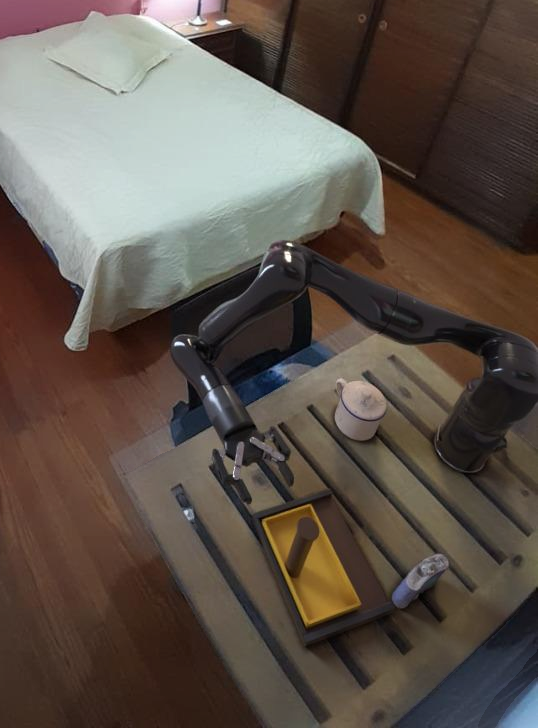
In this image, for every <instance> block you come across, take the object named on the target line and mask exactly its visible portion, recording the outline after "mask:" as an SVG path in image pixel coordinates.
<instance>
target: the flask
mask: <svg viewBox="0 0 538 728" xmlns="http://www.w3.org/2000/svg"><path fill="white" fill-rule="evenodd" d="M450 566H451V563H450V560H449V559H448V557H447V556H446V555H444V554H442V553H435V554H433V555H430V556H428V557H426V558H424V559H422V560H421V561H419V562H418V563H416V564H415V565H414V566H413V567H412V568H411V569H410V570H409V572H408V573H407V575H406V576H405V577H404V578H403V580H402V581H401V582H400V584H399V585H398V586H397V587H396V589H395V590H394V591H393V593H392V596H391V601H392V602H393V604H394V606H395V607H396V608H397V609H400V610H402V609H405V608H406V607H408V606H409V604H410V603H411V602H412V601H415V600H417V599H418V598H419V595H420V593H421V594H423V593H424V591H425V590H428V589H430V588H431V587H433V586H434V584H435V583H436V582H437V581H438V580H439V579H440V578H441V577H442V575H443V574H444V573H445V572H446V571H447V570H448V569H449V568H450Z"/></svg>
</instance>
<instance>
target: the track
mask: <svg viewBox="0 0 538 728" xmlns="http://www.w3.org/2000/svg"><path fill="white" fill-rule="evenodd" d="M333 494H334V492H333V490H332V489H331V488H326V489H324V490H320V491H318V492H315V493H312V494H309V495H305V496H303V497H299V498H297V499H293V500H290V501H287V502H284V503H282V504H278V505H275V506H272V507H269V508H265V509H262V510H260V511H257V512H254V513H252V517H251V521H252V524H253V526H254V528H255V530H256V533H257V535H258V538H259V540H260V543H261V545H262V547H263V550H264V552H265V555H266V557H267V560H268V562H269V564H270V567H271V570H272V573H273V574H274V577H275V580H276V581H277V584H278V586H279V588H280V591H281V593H282V596H283V598H284V601H285V603H286V606H287V609H288V611H289V613H290V615H291V618H292V620H293V622H294V625H295V628H296V630H297V632H298V634H299V635H298V636H299V637H300V639H301V642H302V644H303V646H304V647H307V646H310V645H313V644H316V643H318V642H321V641H323V640H327V639H328V638H331V637H333V636H337V635H339V634H341V633H344V632H346V631H349V630H351V629H355V628H358V627H360V626H362V625H364V624H368V623H370V622H372V621H373V622H374V621H376V620H377V619H380V618H384V617H386V616H388V615H390V614H393V612H394V611H395V610H396V606H395V604H394V603H393V601H389V600H388V598H387V597H386V595H385V593H384V591H383V589H382V587H381V586H380V583H379V581H378V580H377V578H376V576H375V575H374V573H373V570H372V569H371V567H370V566H369V563H368V561H367V559H366V558H365V556H364V554H363V552H362V550H361V548H360V546H359V545H358V543H357V541H356V539H355V537H354V535H353V534H352V531H351V530H350V528H349V526H348V525H347V523H346V521H345V519H344V517H343V515H342V513H341V512H340V509H339V508H338V506H337V504H336V502H335V500H334V498H333ZM308 504H311V505H312V507H313V509H314V511H315V513H316V515H317V517H318V519H319V521H320V523H321V525H322V527H323V529H324V531H325V533H326V535H327V537H328V539H329V541H330V543H331V545H332V546H333V548H334V550H335V552H336V554H337V556H338V558H339V560H340V562H341V564H342V566H343V568H344V570H345V572H346V574H347V576H348V578H349V580H350V582H351V584H352V586H353V588H354V590H355V592H356V594H357V596H358V598H359V600H360V602H361V604H362V605H361V606H360V608H359V609H358V610H355V611H352V612H350V613H347V614H345V615H342V616H339V617H337V618H334V619H331V620H329V621H326V622H323V623H321V624H318V625H316V626H313V627H310V628H308V629H305V627H304V624H303V622H302V620H301V617H300V615H299V613H298V610H297V608H296V606H295V603H294V601H293V599H292V596H291V594H290V591H289V589H288V587H287V584H286V582H285V580H284V577H283V575H282V573H281V570H280V568H279V565H278V563H277V561H276V558H275V556H274V554H273V551H272V549H271V547H270V544H269V542H268V540H267V537H266V535H265V532H264V530H263V528H262V525H261V524H262V520H263V519H265V518H268V517H272V516H275V515H278V514H281V513H284V512H287V511H290V510H293V509H296V508H299V507H302V506H305V505H308Z"/></svg>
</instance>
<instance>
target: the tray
mask: <svg viewBox="0 0 538 728" xmlns="http://www.w3.org/2000/svg"><path fill="white" fill-rule="evenodd" d="M261 525H262V528H263V530H264V532H265V535H266V537H267V540H268V542H269V544H270V547H271V549H272V551H273V554H274V556H275V558H276V561H277V563H278V565H279V568H280V570H281V573H282V575H283V577H284V580H285V582H286V584H287V587H288V589H289V591H290V594H291V596H292V599H293V601H294V603H295V606H296V608H297V610H298V613H299V615H300V617H301V620H302V622H303V624H304V627H305V629H308V628H310V627H313V626H316V625H318V624H321V623H323V622H326V621H329V620H331V619H334V618H337V617H339V616H342V615H345V614H347V613H350V612H352V611H355V610H358V609H359V608H360V606H361V605H362V604H361V602H360V600H359V598H358V596H357V594H356V592H355V590H354V588H353V586H352V584H351V582H350V580H349V578H348V576H347V574H346V572H345V570H344V568H343V566H342V564H341V562H340V560H339V558H338V556H337V554H336V552H335V550H334V548H333V546H332V545H331V543H330V541H329V539H328V537H327V535H326V533H325V531H324V529H323V527H322V525H321V523H320V521H319V519H318V517H317V515H316V513H315V511H314V509H313V507H312V505H311V504H308V505H305V506H302V507H299V508H296V509H293V510H290V511H287V512H284V513H281V514H278V515H275V516H272V517H268V518H265V519H263V520H262V524H261Z"/></svg>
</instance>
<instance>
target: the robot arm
mask: <svg viewBox="0 0 538 728" xmlns="http://www.w3.org/2000/svg"><path fill="white" fill-rule="evenodd" d="M262 256H263V257H262V260H261V263H260V266H259V271H258V274H257V276H256V277H255V279H254V280H253V282H252V283H251V284H250V285H249V287H248V288H247V289H246V290H245V291H244V292H243V293H242V294H240V295H239V296H237V297H235V298H232V299H229V300H227V301H224V302H223V303H221V304H219V305H218V306H217V307H216V308H215V309H214V310H213V311H211V313H209V314H208V315H207V316H206V317H205V318H204V319H203V320H202V321H201V322H200V323H199V326H198V329H197V332H198V333H197V334H189V333H188V334H187V333H185V334H184V333H183V334H178V335H176V336H175V337H173V339H172V341H171V342H170V345H169V346H170V347H169V352H170V358H171V360H172V363H173V364H174V366H175V367H176V368H177V370H178V371H179V372H180V373H181V374H182V376H183V377H184V378H185V379H186V380H187V382H189V383H190V385H192V386H193V387H194V389H195V391H196V393H197V395H198V396H199V398H200V400H201V402H202V404H203V407H204V409H205V413H206V415H207V417H208V420H209V422H210V423H211V425H212V427H213V429H214V430H215V432H216V434H217V436H218V439H219V440H220V442H221V444H222V446H223V448H222V449H217V448H213V449H212V450H211V461H212V464H213V465H214V468H215V470H216V472H217V475H218V478H219V480H220V482H221V485H222V486H223V487H227V486H233V487H234V488H235V490H236V492H237V494H238V496H239V499H240V500H241V501H242V502H243V503H246V505H247V506H249V505H252V503H253V498H252V495H251V493H250V491H249V489H248V488H247V486H246V484H245V482H244V479H243V478H241V472H242V466H243V467H245V468H247V467H250V466H251V465H252V464H256V463H260V462H261V461H264V462H267V463H271V464H273V465H275V466H277V467H278V469H277V470H278V471H279V473H280V475H281V476H282V478H283V480H284V482H285V483H286V486H287V487H288V488H291V487H293V486H294V483H295V481H294V480H295V474H294V473H293V470H292V469H291V468H290V466H289V464H288V463H287V462H288V461H289V460H290V457H291V454H292V450H291V448H290V447H289V446H288V444H287V443H286V441H285V439H284V438H283V437H282V435H281V434H280V432H279V431H278V430H277V428H276V427H275V426H273V425H271V426H270V427H269V429H268V430H266V431H264V432H261V431H260V430H259V428H258V427H257V425H256V423H255V421H254V420H253V418H252V416H251V414H250V413H249V411H248V409H247V407H246V406H245V404H244V403H243V400H242V399H241V397H240V396H239V395H238V392H237V391H236V390H235V389H234V387H233V386H232V384H231V382H230V381H229V378H227V376H226V374H225V372H224V371H223V370H222V368H221V367H219V366H217V365H215V364H214V363H215V362H216V361H218V358H219V357H220V355H221V354H222V352H223V350H224V348H225V347H226V345H228V344H229V343H231V342H232V341H233V340H234V339H236V338H237V336H239V335H240V334H242V333H243V332H244V331H245V330H246V329H247V328H249V327H250V326H252V325H253V324H255V323H256V322H257V321H259V320H261V319H263V318H264V317H266V316H268V315H269V314H272V313H273V312H275V311H277V310H279V309H280V308H283V307H284V306H286V305H287V304H288V305H289V304H290V303H292V302H294V301H295V300H297V299H299V298H300V297H301V296H302V295H303V294H304V293H305V292H306V291H307V288H308V287H309V288H311V289H313V290H315V291H317V292H319V293H321V294H323V295H325V296H327V297H328V298H330V299H331V300H333V301H334V302H335V304H337V305H339V307H341V309H343V310H344V311H345V312H346V313H347V314H348V315H349V316H350V317H351V318H353V319H354V320H355V321H356V322H357V323H358V324H359V325H361V326H362V327H363V328H365V329H367V330H368V331H370V332H372V333H374V334H376V335H378V336H381V337H382V338H385V339H388V340H390V341H392V342H394V343H397V344H400V345H405V346H411V347H412V346H414V347H416V346H417V347H418V346H429V345H430V346H431V345H449V346H451V347H455V348H458V349H461V350H463V351H466V352H468V353H470V354H472V355H474V356H475V357H477V358H479V362H480V375H481V376H480V377H479V376H478V377H474V378H472V379H470V380H469V381H468V382H467V383H466V384H465V386H464V387H463V389H462V390H461V392H460V393H459V395H458V398H457V399H456V401H455V403H454V404H453V405H452V408H451V410H450V411H449V413H448V414H447V417H446V418H445V420H444V422H443V423H442V425H441V424H438V428H437V432H436V434H435V435H434V438H433V446H434V449H435V452H436V453H437V456H438V457H439V458H440V459H441V460H442V462H444V464H446V465H447V466H448V467H450V468H451V469H452V470H454V471H456V472H459V473H463V474H476V473H479V472H480V471H481V470H482V469H483V468H484V466H485V464H486V462H487V461H488V460H489V458H490V457H491V456H492V454H494V453H495V454H496V453H498V452H501V451H503V450H504V449H507V447H508V441H507V438H506V437H505V436H506V435H507V434H508V433H509V431H510V430H511V428H512V427H513V426H514V424H515V423H516V422H519V421H521V420H524V419H525V418H526V417H527V416H528V415H529V414H530V413H531V412H532V410H534V408H536V406H537V405H538V347H537V345H536V344H535V343H534V342H533V341H532V340H529V339H528V338H527V337H525V336H523V335H520V334H518V333H516V332H513V331H511V330H510V331H509V330H507V329H503V328H500V327H498V326H494V325H491V324H488V323H485V322H481V321H478V320H476V319H473V318H469V317H466V316H464V315H461V314H458V313H456V312H453V311H451V310H448V309H447V308H443V307H441V306H438V305H436V304H433V303H430V302H428V301H426V300H423V299H421V298H419V297H417V296H415V295H413V294H410V293H407V292H405V291H403V290H402V289H398V288H396V287H393V286H391V285H388V284H385V283H383V282H380V281H378V280H376V279H373V278H371V277H369V276H367V275H364V274H362V273H360V272H357V271H355V270H352V269H351V268H348V267H345V266H343V265H341V264H339V263H337V262H335V261H334V260H332V259H330V258H328V257H326V256H324V255H323V254H321V253H318V252H317V251H315V250H313V249H311V248H309V247H307V246H305V245H304V244H301V243H299V242H296V241H293V240H289V239H279V240H275V241H273V242H271V243H270V244H269V245H268V246H267V247H266V248H265V251H264V253H263V255H262ZM266 440H267V441H268V442H269V443H271V444H273V446H275V448H276V450H277V451H276V450H275V449H274V448H273V447H272V446H270V445H268V444H266ZM225 457H227V458H228V459H230V460H232V461H233V462H234V467H233V473H232V474H231V473H230V474H229V473H228V470H227V468H226V466H225V463H224V462H225Z"/></svg>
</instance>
